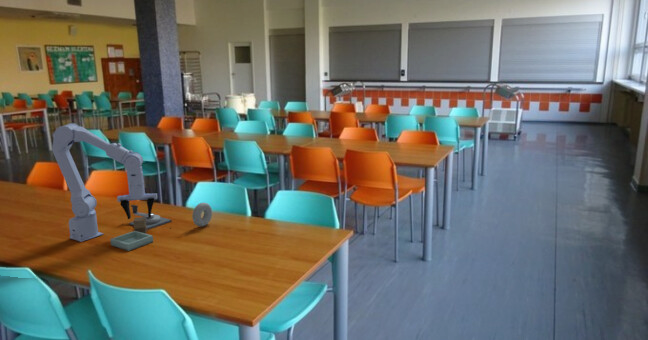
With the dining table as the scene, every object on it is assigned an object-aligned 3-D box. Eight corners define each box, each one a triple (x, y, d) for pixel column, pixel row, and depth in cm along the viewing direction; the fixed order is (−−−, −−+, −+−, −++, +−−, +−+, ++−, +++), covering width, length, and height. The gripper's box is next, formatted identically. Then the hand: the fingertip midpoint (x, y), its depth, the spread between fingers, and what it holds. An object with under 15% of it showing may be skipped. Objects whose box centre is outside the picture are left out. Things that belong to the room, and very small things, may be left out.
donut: (197, 230, 194) (196, 206, 192) (191, 229, 196) (189, 205, 194) (214, 223, 203) (213, 200, 201) (208, 221, 205) (206, 199, 202)
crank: (155, 216, 204) (154, 206, 203) (150, 218, 201) (149, 208, 200) (135, 213, 208) (134, 203, 208) (129, 215, 206) (128, 205, 205)
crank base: (147, 229, 196) (147, 224, 195) (129, 224, 202) (128, 219, 202) (171, 221, 206) (171, 216, 205) (153, 216, 212) (152, 211, 211)
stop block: (145, 234, 190) (144, 220, 189) (134, 235, 190) (133, 220, 188) (147, 231, 194) (145, 216, 193) (136, 231, 193) (135, 217, 192)
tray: (128, 251, 174) (128, 244, 173) (111, 245, 179) (110, 239, 179) (153, 241, 182) (152, 235, 182) (135, 236, 188) (135, 230, 187)
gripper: (156, 180, 193) (160, 213, 196) (118, 183, 190) (122, 215, 193) (154, 184, 186) (157, 218, 189) (114, 187, 183) (118, 221, 186)
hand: (139, 217), depth 191 cm, fingers open, 7 cm apart
